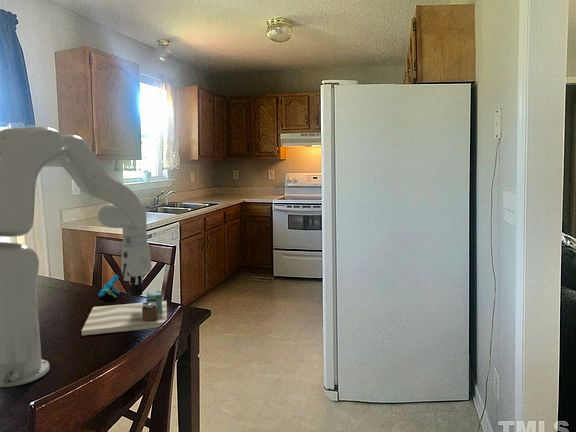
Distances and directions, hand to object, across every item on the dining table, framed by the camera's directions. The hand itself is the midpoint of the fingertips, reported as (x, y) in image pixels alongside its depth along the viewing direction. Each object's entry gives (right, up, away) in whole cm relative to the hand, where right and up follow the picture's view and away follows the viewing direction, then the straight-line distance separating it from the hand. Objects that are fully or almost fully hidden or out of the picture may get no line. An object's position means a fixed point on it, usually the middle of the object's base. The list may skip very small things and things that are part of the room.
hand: (136, 295), depth 146 cm
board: (-1, -7, -4) cm, 8 cm away
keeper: (+6, -5, -1) cm, 8 cm away
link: (+6, -5, -2) cm, 8 cm away
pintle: (+7, -6, -9) cm, 13 cm away
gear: (-18, -4, +21) cm, 28 cm away
